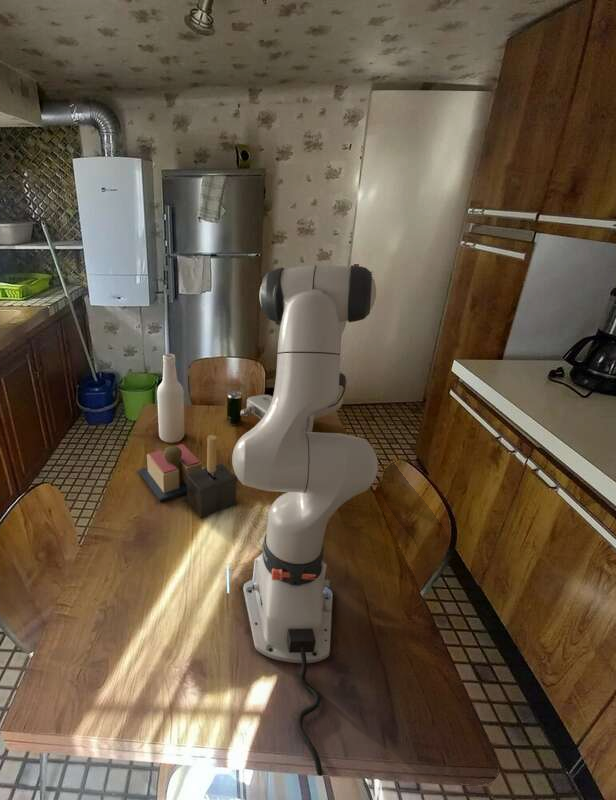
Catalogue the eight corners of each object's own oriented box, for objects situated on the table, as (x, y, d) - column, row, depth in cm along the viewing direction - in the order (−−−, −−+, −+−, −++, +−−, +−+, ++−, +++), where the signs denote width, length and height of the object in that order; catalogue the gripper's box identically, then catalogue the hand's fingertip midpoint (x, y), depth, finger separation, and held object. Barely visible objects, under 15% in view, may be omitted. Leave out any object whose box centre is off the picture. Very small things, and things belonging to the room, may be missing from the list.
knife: (217, 504, 119) (218, 438, 110) (209, 507, 118) (210, 440, 109) (212, 499, 121) (213, 433, 112) (205, 501, 120) (205, 436, 111)
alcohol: (184, 430, 156) (183, 350, 143) (184, 443, 148) (182, 360, 135) (160, 430, 155) (156, 350, 142) (158, 443, 147) (153, 360, 134)
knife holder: (235, 505, 119) (237, 478, 115) (200, 518, 114) (200, 490, 110) (221, 489, 125) (221, 463, 121) (186, 501, 120) (186, 474, 116)
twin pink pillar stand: (210, 485, 127) (211, 463, 124) (160, 502, 120) (159, 479, 116) (186, 458, 139) (186, 438, 136) (139, 472, 132) (137, 451, 129)
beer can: (234, 427, 158) (235, 397, 153) (223, 422, 162) (224, 392, 156) (244, 422, 162) (245, 393, 156) (233, 417, 165) (234, 388, 160)
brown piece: (180, 487, 125) (179, 455, 120) (160, 485, 126) (159, 453, 122) (186, 475, 131) (185, 444, 126) (166, 473, 132) (165, 442, 127)
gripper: (270, 386, 129) (231, 395, 122) (318, 415, 113) (275, 427, 106) (269, 405, 131) (230, 415, 125) (315, 436, 115) (273, 449, 109)
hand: (251, 421), depth 116 cm, fingers open, 8 cm apart
